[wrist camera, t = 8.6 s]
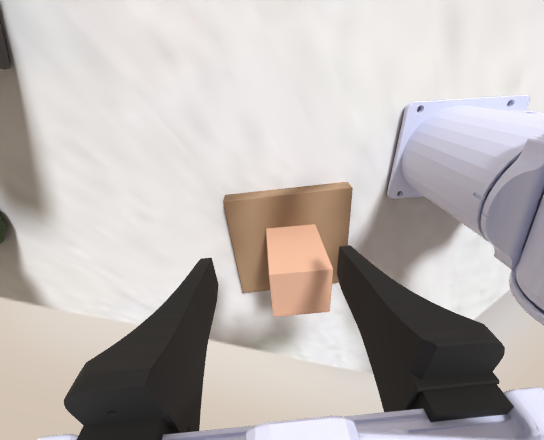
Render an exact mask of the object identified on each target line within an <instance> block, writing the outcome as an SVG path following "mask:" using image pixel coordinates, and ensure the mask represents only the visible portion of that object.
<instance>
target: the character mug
mask: <svg viewBox="0 0 544 440" xmlns="http://www.w3.org/2000/svg"><path fill="white" fill-rule="evenodd" d="M5 232H6V225H5V223H4V221H3V220H2V218H1V216H0V243H1V242H2V241H3V240H4V237H5Z"/></svg>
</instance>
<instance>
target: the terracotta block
mask: <svg viewBox="0 0 544 440" xmlns="http://www.w3.org/2000/svg"><path fill="white" fill-rule="evenodd" d="M266 234H267V250H268V266H269V279H270V289H271V299H272V309H273V317H277V316H288V315H299V314H310V313H321V312H330V301H331V289H332V276H333V268H332V265H331V263H330V260H329V258H328V255H327V253H326V250H325V248H324V245H323V243H322V240H321V238H320V235H319V233H318V230H317V227H316V225H315V224H312V225H301V226H290V227H278V228H267V229H266Z"/></svg>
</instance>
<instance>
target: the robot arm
mask: <svg viewBox="0 0 544 440" xmlns="http://www.w3.org/2000/svg"><path fill="white" fill-rule="evenodd" d="M509 101H510V103H509V104H508V105H507V103H508V102H509ZM529 102H530V97H529V96H528V95H514V96H498V97H481V98H465V99H448V100H432V101H415V102H410V103H409V104H408V105H407V106H406V108H405V112H404V116H403V121H402V126H401V130H400V135H399V140H398V144H397V149H396V154H395V158H394V163H393V168H392V173H391V177H390V182H389V187H388V191H387V195H388V197H389V198H391V199H399V198H413V197H426V198H427V199H429V200H430V201H432V202H433V203H434V204H436V205H437V206H439V207H440V208H441V209H443V210H444V211H446V212H447V213H449V214H450V215H451V216H453V217H454V218H456V219H457V220H458V221H460V222H461V223H463V224H464V225H466V226H467V227H468V228H470V229H471V230H473V231H474V232H475V233H477V234H478V235H480V236H481V237H483V238H484V239H485V240H487V241H488V242H490V243H491V244H492V245H493V246H494V249H495V253H494V256H495V257H496V258H497V259H498V260H500V261H501V262H502V263H504V264H505V265H506V266H508V267H509V268H510V269H512V271H511V274H510V278H509V284H510V289H511V292H512V294H513V296H514V297H515V299H516V300H517V302H518V303H519V304H520V305H521V306H522V308H524V310H525V311H526V312H527V313H529V314H530V315H531V316H532V317H533V318H534V319H535V320H537V321H538V322H540V323H541V324H543V325H544V112H535V111H527V110H526V109H527V106H528V104H529ZM419 106H421V109H420V111H418V112H417V108H418V107H419ZM399 191H401V192H400V193H399V194H398V195H397V193H398V192H399ZM337 276H338V280H339V283H340V286H341V290H342V292H343V294H344V296H345V299H346V301H347V303H348V305H349V308H350V310H351V312H352V314H353V317H354V319H355V321H356V323H357V326H358V328H359V331H360V333H361V336H362V339H363V342H364V345H365V348H366V351H367V354H368V357H369V361H370V364H371V367H372V370H373V374H374V377H375V381H376V384H377V387H378V390H379V394H380V398H381V402H382V406H383V409H384V413H374V414H364V415H354V416H344V417H343V416H326V417H316V418H306V419H296V420H287V421H276V422H268V423H264V424H259V425H255V426H245V427H235V428H225V429H216V430H205V431H199V425H200V410H201V397H202V387H203V376H204V367H205V358H206V350H207V344H208V339H209V334H210V330H211V325H212V321H213V316H214V312H215V307H216V302H217V293H218V281H217V278H216V274H215V270H214V266H213V262H212V258H204V259H200V260H199V261H198V263H197V264H196V265H195V267H194V268H193V269H192V271H191V272H190V273H189V275H188V276H187V277H186V278H185V280H184V281H183V282H182V283H181V285H180V286H179V287H178V288H177V289H176V290H175V292H174V293H173V294H172V295H171V296H170V297H169V298H168V299H167V301H166V302H165V303H164V304H163V305H162V306H161V307H160V308H159V309H158V310H156V311H155V312H154V313H153V314H152V315H151V316H150V317H149V318H148V319H146V320H145V321H144V322H143V323H142V324H140V325H139V326H138V327H137V328H136V329H134V330H133V331H132V332H131V333H129V334H128V335H127V336H125V337H124V338H123V339H121V340H120V341H118V342H117V343H116V344H114V345H113V346H111V347H110V348H108V349H107V350H105V351H104V352H102V353H101V354H99V355H97V356H96V357H95V358H93V359H91V360H90V361H88V362H87V363H86V364H85V365H84V367H83V368H82V370H81V372H80V373H79V375H78V376H77V378H76V380H75V382H74V383H73V385H72V387H71V389H70V390H69V392H68V393H67V396H66V397H65V399H64V405H65V407H66V409H67V410H68V411H69V412H70V413H71V414H72V415H73V416H74V417H75V418H76V419H77V420H78V421H80V422H81V423H82V424H83V425H84V426H83V428H82V430H81V432H80V435H79V436H77V435H74V434H63V435H53V436H45V437H44V436H43V437H40V438H38V439H37V440H544V390H543V389H542V388H540V387H532V388H522V389H513V390H509V391H506V392H504V393H503V392H502V391H501V389H500V388H499V387H498V386H497V384H499V379H498V378H497V377H496V376H495V374H494V373H493V372H492V371H493V370H494V369H495V367H496V366H497V365H498V363H499V362H500V361H501V359H502V358H503V356H504V349H505V348H504V346H503V345H502V343H501V342H500V341H499V340H498V339H497V338H496V337H495V336H494V334H493V333H492V332H491V331H490V330H489V329H488V328H487V327H486V326H485V325H484V324H482V323H479V322H477V321H474V320H471V319H469V318H466V317H464V316H461V315H459V314H456V313H454V312H452V311H449V310H447V309H445V308H443V307H440V306H438V305H436V304H434V303H432V302H430V301H428V300H426V299H424V298H423V297H421V296H419V295H417V294H415V293H413V292H412V291H410V290H408V289H407V288H405V287H403V286H402V285H400V284H399V283H397V282H396V281H394V280H393V279H391V278H390V277H388V276H387V275H386V274H384V273H383V272H382V271H380V270H379V269H378V268H376V267H375V266H374V265H373V264H371V263H370V262H369V261H368V260H366V259H365V258H364V257H363V256H362V255H361V254H359V253H358V252H357V251H356V250H355V249H354V248H352V247H351V246H350V245H349V246H339V254H338V265H337Z"/></svg>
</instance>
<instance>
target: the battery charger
mask: <svg viewBox="0 0 544 440" xmlns="http://www.w3.org/2000/svg"><path fill="white" fill-rule="evenodd" d="M9 67H10V63H9V58H8V54H7V49H6V44H5V40H4V35H3V31H2V27H1V22H0V69H8V68H9Z"/></svg>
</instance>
